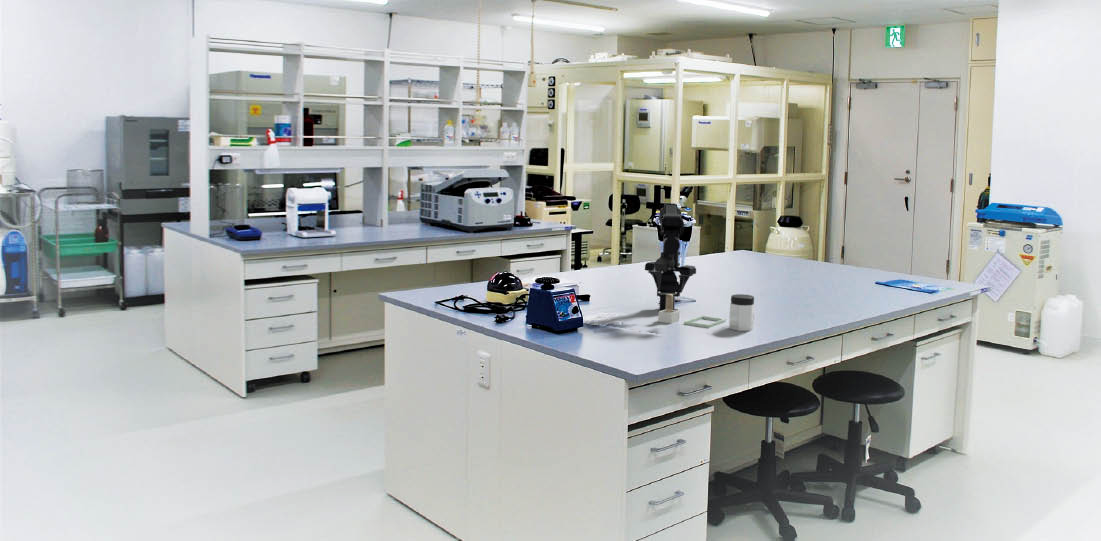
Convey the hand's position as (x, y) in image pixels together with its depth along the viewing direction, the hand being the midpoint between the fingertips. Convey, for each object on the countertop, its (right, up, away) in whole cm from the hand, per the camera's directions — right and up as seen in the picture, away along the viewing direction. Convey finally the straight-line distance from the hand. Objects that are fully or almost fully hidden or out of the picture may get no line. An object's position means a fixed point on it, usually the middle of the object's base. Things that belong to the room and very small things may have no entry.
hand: (669, 291), depth 330 cm
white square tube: (0, -12, +2) cm, 12 cm away
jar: (+25, -14, -6) cm, 29 cm away
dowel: (0, -11, +2) cm, 11 cm away
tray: (+13, -12, -1) cm, 18 cm away
